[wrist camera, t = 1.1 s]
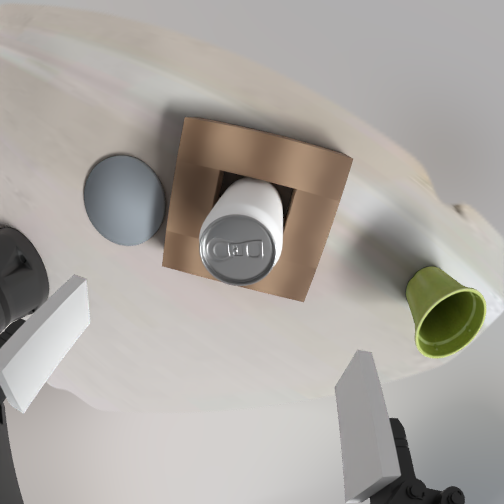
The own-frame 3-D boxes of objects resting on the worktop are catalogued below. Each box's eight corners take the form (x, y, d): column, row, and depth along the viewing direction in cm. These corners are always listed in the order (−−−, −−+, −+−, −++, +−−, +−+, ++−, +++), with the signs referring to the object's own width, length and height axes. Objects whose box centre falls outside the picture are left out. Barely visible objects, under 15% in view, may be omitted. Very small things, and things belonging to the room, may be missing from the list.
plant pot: (392, 261, 34) (418, 301, 26) (457, 247, 32) (492, 280, 25) (393, 322, 38) (411, 366, 30) (452, 307, 36) (478, 346, 28)
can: (220, 177, 32) (187, 210, 21) (281, 174, 31) (281, 207, 20) (225, 234, 35) (199, 291, 24) (283, 233, 34) (283, 290, 23)
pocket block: (172, 252, 36) (162, 266, 33) (194, 117, 29) (184, 117, 26) (302, 285, 36) (303, 302, 33) (345, 154, 30) (353, 159, 26)
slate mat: (85, 232, 36) (83, 234, 36) (90, 149, 32) (87, 150, 31) (160, 253, 36) (158, 255, 36) (172, 164, 32) (170, 165, 31)
